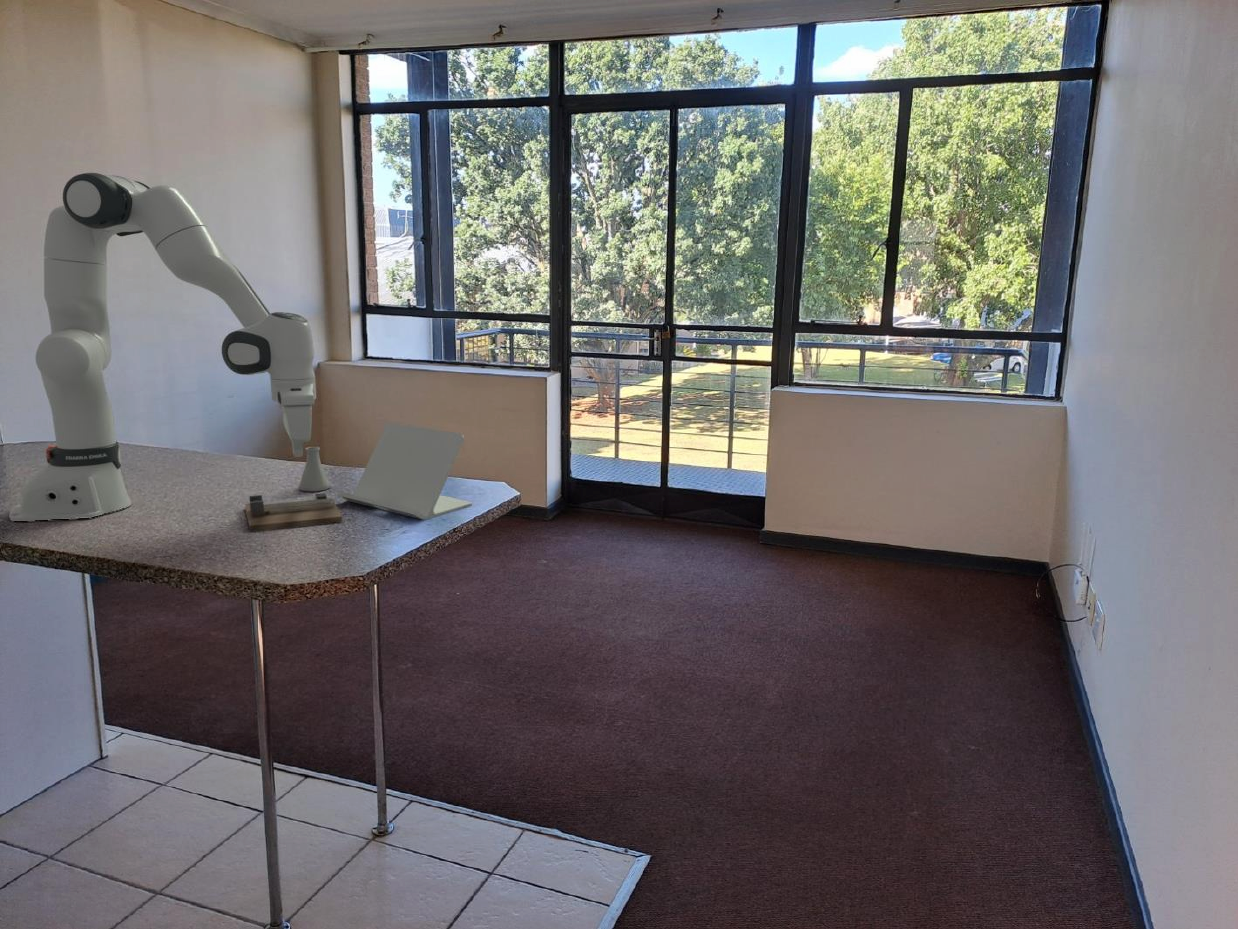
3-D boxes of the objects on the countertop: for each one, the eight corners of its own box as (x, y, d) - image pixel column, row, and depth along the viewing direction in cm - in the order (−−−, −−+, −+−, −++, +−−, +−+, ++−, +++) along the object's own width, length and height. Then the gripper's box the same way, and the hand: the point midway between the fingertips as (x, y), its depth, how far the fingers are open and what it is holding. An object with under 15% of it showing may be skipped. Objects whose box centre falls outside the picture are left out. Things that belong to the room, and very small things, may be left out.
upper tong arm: (252, 513, 183) (251, 503, 183) (251, 509, 187) (250, 499, 186) (332, 505, 190) (331, 496, 190) (330, 501, 193) (329, 492, 193)
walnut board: (249, 531, 177) (249, 525, 177) (245, 508, 193) (245, 503, 193) (342, 521, 184) (341, 516, 184) (330, 500, 200) (330, 495, 200)
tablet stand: (398, 489, 213) (395, 419, 209) (473, 506, 199) (472, 432, 195) (337, 504, 198) (332, 430, 194) (413, 524, 184) (410, 445, 181)
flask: (310, 494, 206) (308, 452, 204) (293, 489, 210) (290, 448, 208) (337, 488, 212) (334, 447, 209) (319, 483, 216) (316, 443, 214)
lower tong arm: (252, 517, 182) (250, 502, 182) (250, 510, 188) (249, 495, 187) (334, 509, 189) (333, 495, 189) (330, 502, 194) (330, 488, 194)
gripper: (274, 385, 191) (278, 447, 194) (281, 398, 173) (286, 466, 176) (304, 384, 194) (308, 445, 197) (315, 397, 176) (319, 464, 179)
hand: (298, 455), depth 187 cm, fingers closed
